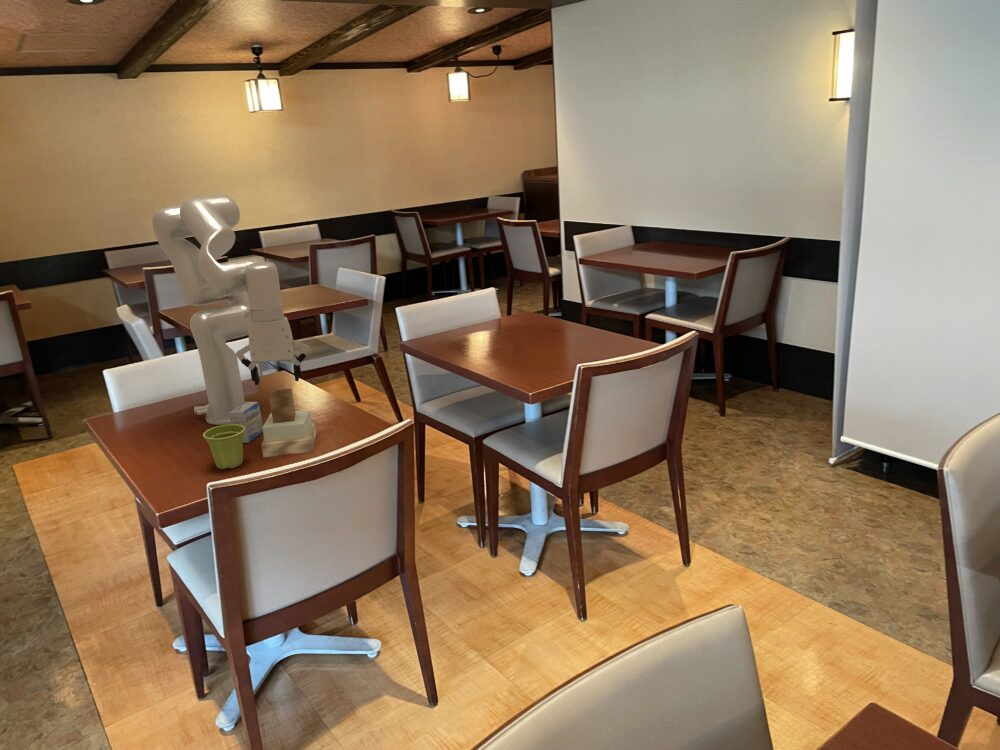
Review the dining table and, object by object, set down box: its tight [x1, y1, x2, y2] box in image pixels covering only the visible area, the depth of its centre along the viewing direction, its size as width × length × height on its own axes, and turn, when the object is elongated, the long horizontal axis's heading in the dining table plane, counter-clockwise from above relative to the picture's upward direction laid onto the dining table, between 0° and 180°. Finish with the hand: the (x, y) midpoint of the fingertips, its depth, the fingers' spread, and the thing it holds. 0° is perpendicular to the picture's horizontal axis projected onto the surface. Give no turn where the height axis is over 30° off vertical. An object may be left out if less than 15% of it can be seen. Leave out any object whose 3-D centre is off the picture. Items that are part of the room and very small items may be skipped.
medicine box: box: [229, 401, 264, 444], centre depth 196 cm, size 8×4×9 cm, turn 168°
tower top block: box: [262, 409, 313, 442], centre depth 189 cm, size 10×10×4 cm
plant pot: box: [202, 424, 245, 470], centre depth 180 cm, size 9×9×9 cm
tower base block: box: [260, 421, 317, 458], centre depth 190 cm, size 12×12×4 cm
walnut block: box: [268, 387, 296, 424], centre depth 187 cm, size 5×5×7 cm
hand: (277, 381), depth 185 cm, fingers open, 9 cm apart
